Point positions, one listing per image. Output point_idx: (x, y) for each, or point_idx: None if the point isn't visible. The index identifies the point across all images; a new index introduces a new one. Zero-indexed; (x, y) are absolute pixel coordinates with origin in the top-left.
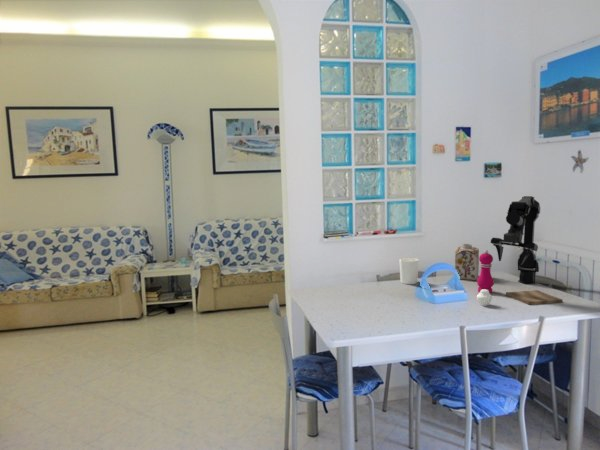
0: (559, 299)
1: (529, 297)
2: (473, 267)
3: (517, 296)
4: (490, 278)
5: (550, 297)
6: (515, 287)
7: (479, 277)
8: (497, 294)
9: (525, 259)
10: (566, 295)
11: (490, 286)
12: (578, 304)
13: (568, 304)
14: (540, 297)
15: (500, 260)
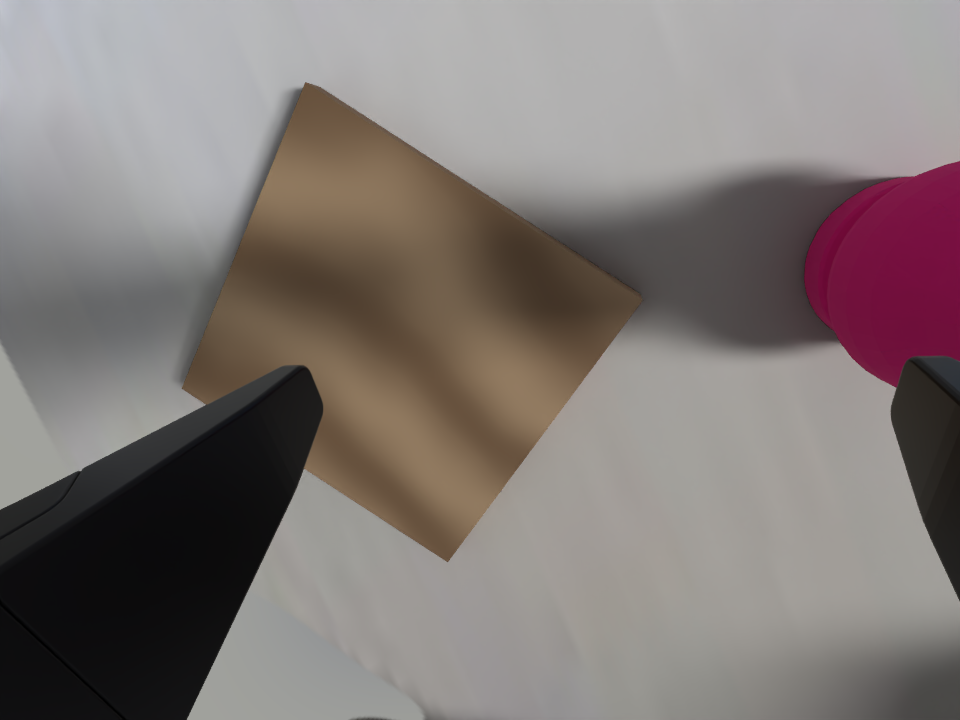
0: (196, 375)
1: (380, 265)
2: None
3: (478, 216)
4: (912, 269)
5: None
6: (673, 622)
7: None
8: (723, 254)
9: None
10: (276, 588)
11: (845, 238)
12: (112, 397)
13: (146, 350)
14: (318, 336)
15: (901, 412)
